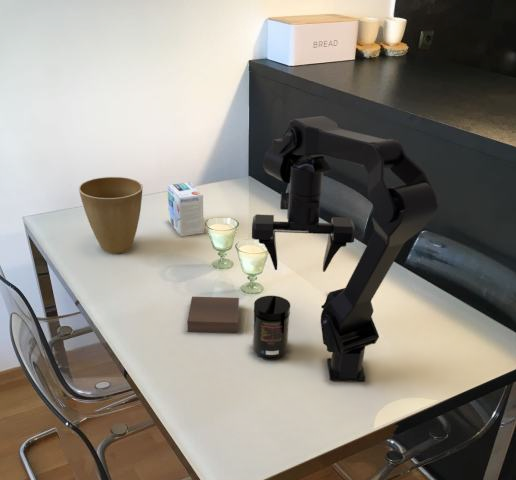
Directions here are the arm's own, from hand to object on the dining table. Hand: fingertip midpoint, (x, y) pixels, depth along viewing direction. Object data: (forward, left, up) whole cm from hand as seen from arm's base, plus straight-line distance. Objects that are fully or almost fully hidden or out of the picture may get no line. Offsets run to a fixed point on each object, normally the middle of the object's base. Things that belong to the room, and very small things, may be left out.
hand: (299, 269), depth 115 cm
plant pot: (+36, +43, -14) cm, 58 cm away
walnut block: (+3, +17, -13) cm, 22 cm away
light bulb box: (+50, +27, -14) cm, 58 cm away
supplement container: (-8, +5, -14) cm, 17 cm away
